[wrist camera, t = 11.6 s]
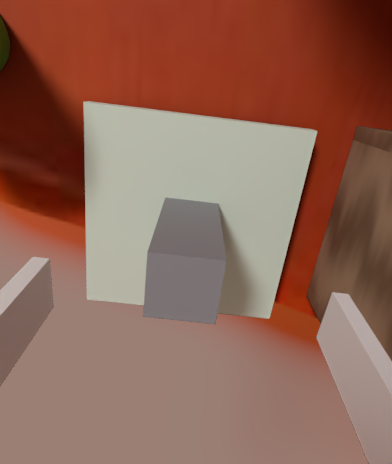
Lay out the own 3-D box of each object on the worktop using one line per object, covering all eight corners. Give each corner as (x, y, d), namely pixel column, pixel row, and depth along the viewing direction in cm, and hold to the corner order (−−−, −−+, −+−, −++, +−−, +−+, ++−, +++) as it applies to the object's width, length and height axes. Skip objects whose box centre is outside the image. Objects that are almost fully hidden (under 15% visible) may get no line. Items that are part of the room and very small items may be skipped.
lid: (93, 100, 24) (14, 110, 14) (308, 127, 25) (383, 156, 15) (94, 285, 31) (40, 385, 20) (265, 303, 31) (296, 410, 21)
